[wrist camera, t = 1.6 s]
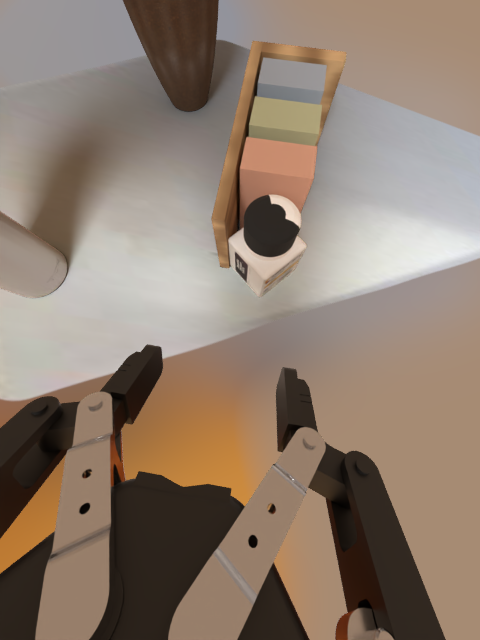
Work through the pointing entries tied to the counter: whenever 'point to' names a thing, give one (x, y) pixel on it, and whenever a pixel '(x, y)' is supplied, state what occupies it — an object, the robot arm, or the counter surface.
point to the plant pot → (178, 45)
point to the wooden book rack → (229, 186)
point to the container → (267, 243)
